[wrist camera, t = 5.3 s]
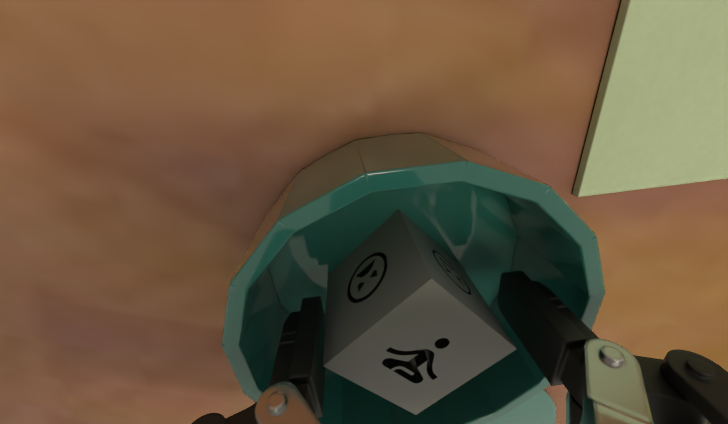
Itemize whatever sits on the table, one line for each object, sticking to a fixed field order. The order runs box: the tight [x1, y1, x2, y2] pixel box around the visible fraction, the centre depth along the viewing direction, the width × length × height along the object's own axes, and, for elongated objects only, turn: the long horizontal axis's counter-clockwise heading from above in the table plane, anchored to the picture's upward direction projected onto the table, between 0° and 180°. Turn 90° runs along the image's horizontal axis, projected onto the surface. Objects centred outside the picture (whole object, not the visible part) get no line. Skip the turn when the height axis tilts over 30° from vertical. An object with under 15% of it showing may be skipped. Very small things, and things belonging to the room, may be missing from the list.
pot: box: [222, 133, 605, 424], centre depth 12 cm, size 14×14×5 cm
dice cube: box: [323, 209, 517, 415], centre depth 12 cm, size 5×5×5 cm
